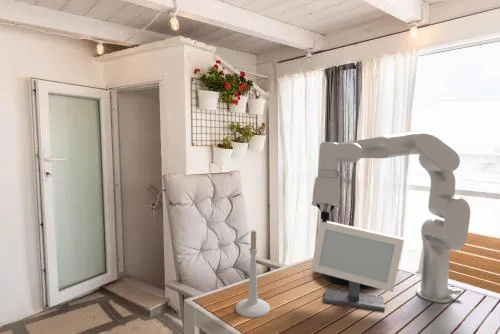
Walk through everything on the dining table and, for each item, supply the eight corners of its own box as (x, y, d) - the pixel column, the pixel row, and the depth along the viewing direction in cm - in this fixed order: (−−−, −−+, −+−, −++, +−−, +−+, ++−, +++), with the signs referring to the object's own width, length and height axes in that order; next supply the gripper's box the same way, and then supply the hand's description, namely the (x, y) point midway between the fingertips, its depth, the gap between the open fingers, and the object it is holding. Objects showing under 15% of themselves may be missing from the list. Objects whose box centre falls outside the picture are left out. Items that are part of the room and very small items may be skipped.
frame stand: (382, 300, 131) (385, 243, 129) (384, 311, 123) (387, 250, 121) (325, 292, 138) (327, 238, 136) (324, 302, 129) (325, 244, 127)
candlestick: (273, 303, 128) (274, 226, 126) (265, 320, 116) (266, 236, 113) (241, 298, 132) (242, 224, 129) (230, 314, 119) (231, 232, 117)
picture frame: (391, 288, 124) (402, 237, 121) (392, 292, 121) (404, 239, 118) (311, 267, 132) (320, 219, 130) (311, 270, 129) (319, 221, 127)
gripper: (348, 175, 128) (344, 222, 129) (309, 172, 132) (306, 217, 133) (348, 176, 120) (344, 226, 122) (306, 173, 125) (303, 221, 126)
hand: (324, 221), depth 128 cm, fingers closed
